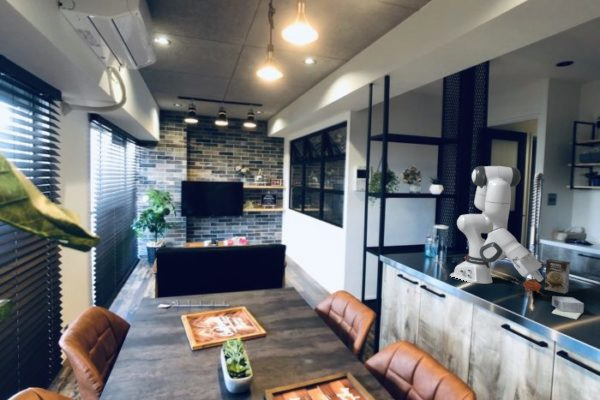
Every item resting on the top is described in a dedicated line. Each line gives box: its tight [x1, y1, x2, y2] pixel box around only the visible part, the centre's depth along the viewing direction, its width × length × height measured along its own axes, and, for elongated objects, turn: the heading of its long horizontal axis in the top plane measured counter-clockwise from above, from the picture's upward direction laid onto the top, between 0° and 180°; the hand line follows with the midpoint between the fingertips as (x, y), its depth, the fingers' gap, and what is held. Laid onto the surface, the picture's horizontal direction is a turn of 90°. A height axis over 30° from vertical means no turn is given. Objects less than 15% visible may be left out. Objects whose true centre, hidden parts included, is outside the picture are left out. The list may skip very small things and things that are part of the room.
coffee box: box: [544, 258, 571, 294], centre depth 177 cm, size 9×6×16 cm
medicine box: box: [551, 295, 585, 314], centre depth 149 cm, size 8×4×9 cm
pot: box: [522, 278, 542, 294], centre depth 176 cm, size 8×8×7 cm
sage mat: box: [551, 307, 583, 320], centre depth 146 cm, size 8×11×1 cm
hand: (541, 280), depth 154 cm, fingers closed
